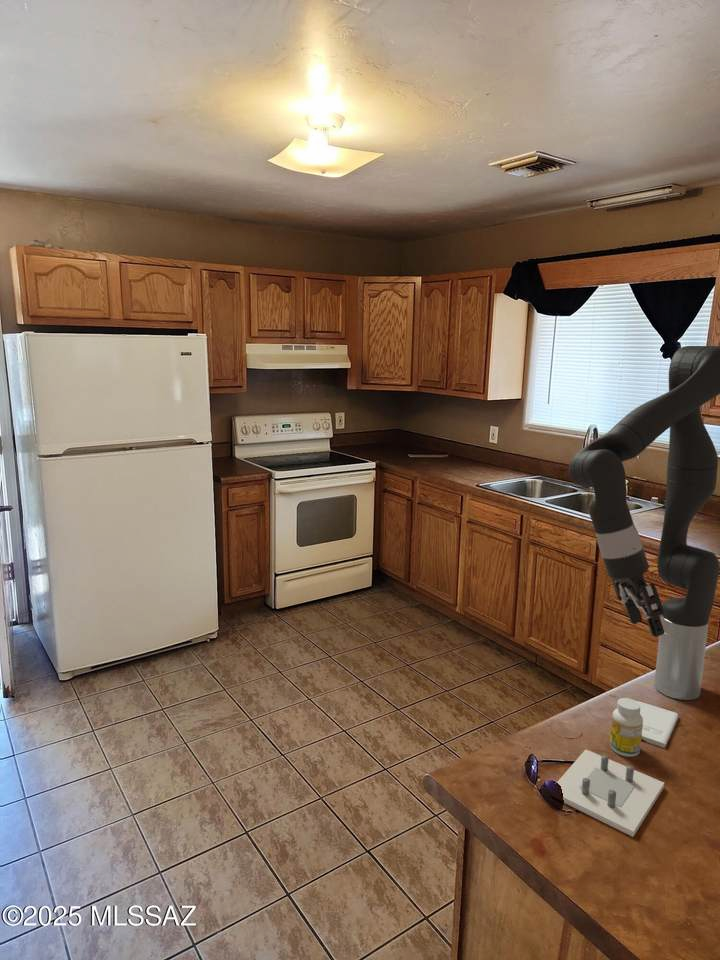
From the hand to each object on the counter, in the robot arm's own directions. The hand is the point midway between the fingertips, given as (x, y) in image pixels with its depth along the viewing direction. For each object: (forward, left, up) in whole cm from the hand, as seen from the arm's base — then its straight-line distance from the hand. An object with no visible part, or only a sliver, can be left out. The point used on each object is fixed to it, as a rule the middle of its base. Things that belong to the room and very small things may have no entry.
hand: (647, 628), depth 121 cm
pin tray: (+21, +2, -22) cm, 31 cm away
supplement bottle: (+7, 0, -22) cm, 24 cm away
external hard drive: (-4, +1, -23) cm, 23 cm away
